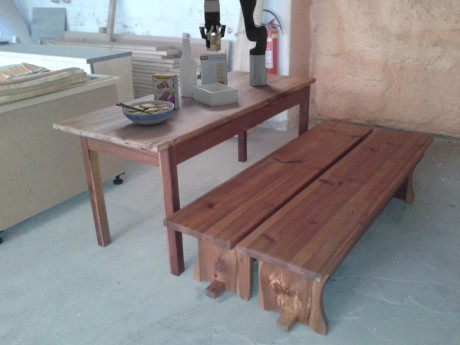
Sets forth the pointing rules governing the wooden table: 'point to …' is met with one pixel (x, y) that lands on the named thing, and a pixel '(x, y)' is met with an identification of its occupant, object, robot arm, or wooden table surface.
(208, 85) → the bin
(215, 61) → the cracker box
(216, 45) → the birch block
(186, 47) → the alcohol
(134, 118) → the ramen bowl
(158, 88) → the candy bar box
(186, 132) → the wooden table surface
